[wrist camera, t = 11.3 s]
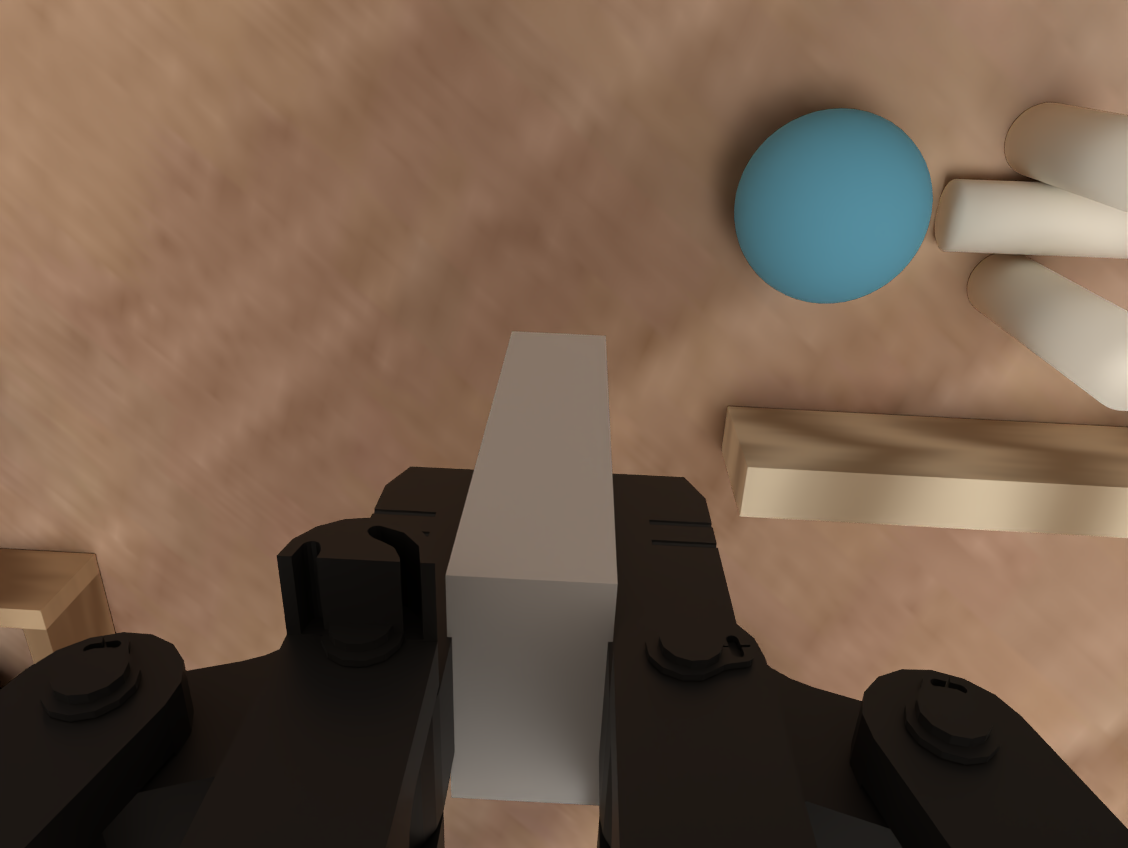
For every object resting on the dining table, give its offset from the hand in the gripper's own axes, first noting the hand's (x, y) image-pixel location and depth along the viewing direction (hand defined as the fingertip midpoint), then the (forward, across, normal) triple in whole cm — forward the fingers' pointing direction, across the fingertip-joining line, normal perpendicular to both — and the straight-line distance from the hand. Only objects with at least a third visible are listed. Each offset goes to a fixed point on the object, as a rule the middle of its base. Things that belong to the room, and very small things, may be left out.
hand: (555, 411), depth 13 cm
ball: (+15, +8, +1) cm, 17 cm away
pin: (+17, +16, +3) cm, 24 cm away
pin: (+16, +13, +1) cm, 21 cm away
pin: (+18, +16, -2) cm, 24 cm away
